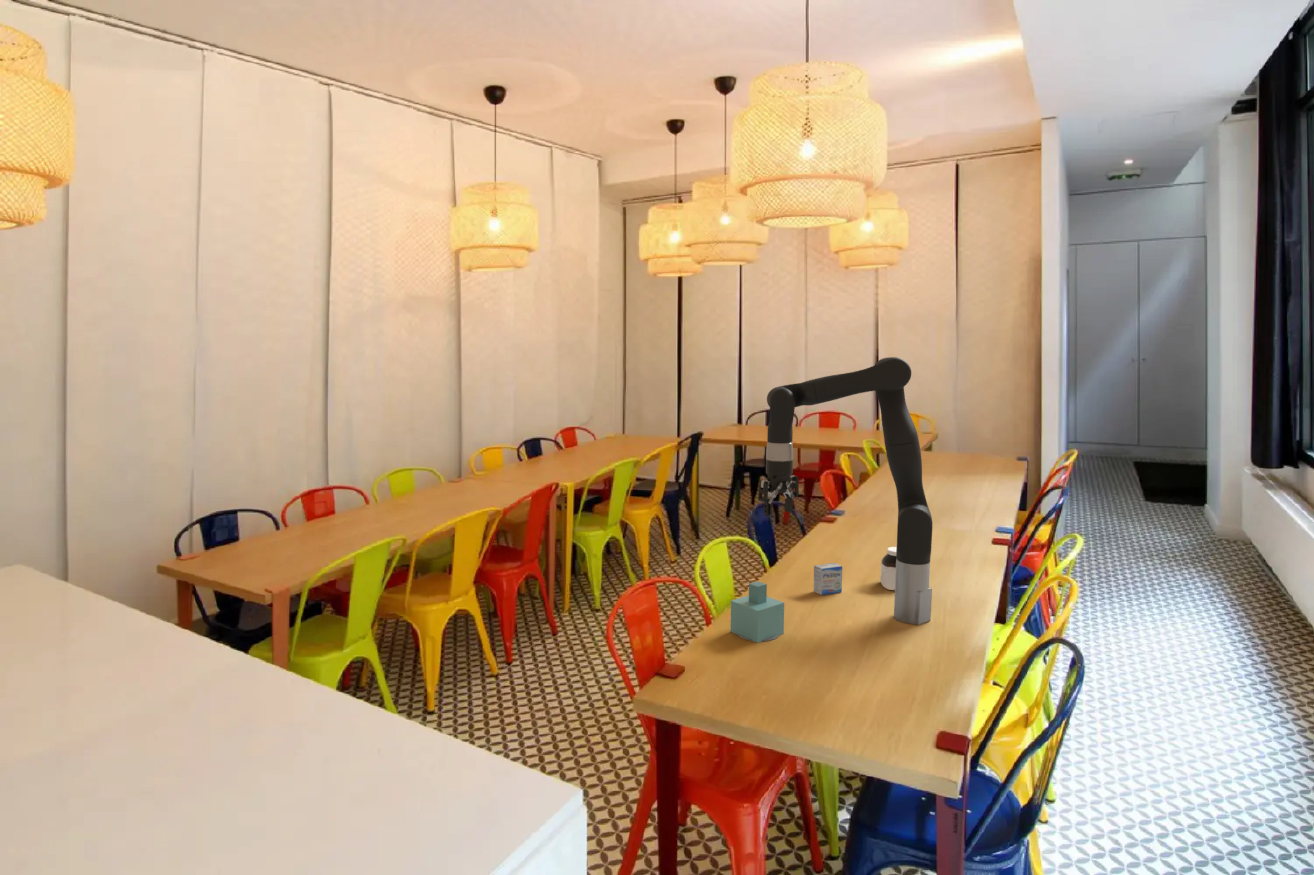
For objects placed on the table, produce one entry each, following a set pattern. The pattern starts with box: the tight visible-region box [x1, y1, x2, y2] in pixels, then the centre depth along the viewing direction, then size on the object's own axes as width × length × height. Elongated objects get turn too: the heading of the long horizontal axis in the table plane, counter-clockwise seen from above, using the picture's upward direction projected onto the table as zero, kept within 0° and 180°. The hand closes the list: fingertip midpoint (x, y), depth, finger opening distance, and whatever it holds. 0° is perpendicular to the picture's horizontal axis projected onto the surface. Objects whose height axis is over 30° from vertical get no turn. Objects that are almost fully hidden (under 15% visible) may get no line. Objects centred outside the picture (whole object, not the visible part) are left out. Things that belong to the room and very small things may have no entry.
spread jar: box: [879, 546, 897, 591], centre depth 253 cm, size 12×11×12 cm
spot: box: [735, 633, 781, 642], centre depth 214 cm, size 12×12×1 cm
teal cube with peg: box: [730, 580, 785, 644], centre depth 213 cm, size 10×10×14 cm
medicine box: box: [813, 562, 843, 596], centre depth 247 cm, size 8×4×9 cm, turn 112°
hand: (778, 513), depth 223 cm, fingers open, 8 cm apart
